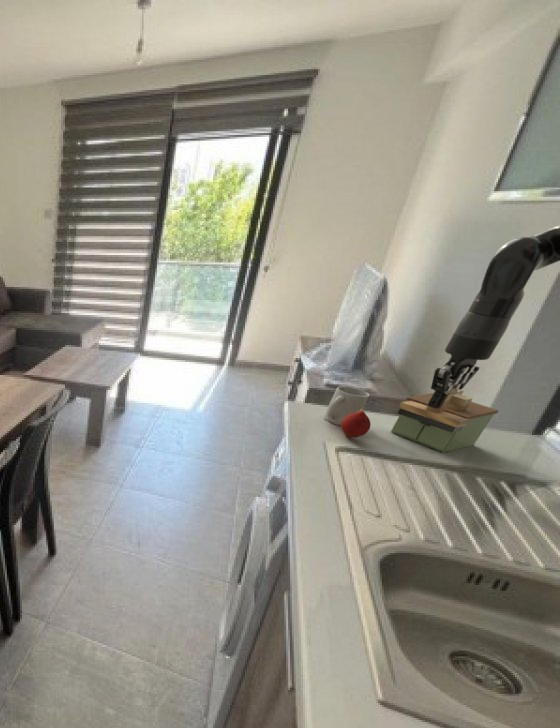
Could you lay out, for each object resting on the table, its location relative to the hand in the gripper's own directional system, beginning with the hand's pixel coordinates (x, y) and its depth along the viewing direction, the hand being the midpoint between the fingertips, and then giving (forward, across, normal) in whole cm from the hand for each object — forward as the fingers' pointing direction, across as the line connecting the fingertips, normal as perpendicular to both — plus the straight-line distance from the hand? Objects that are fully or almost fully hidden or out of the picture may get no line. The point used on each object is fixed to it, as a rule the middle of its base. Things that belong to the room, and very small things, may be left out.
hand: (436, 406), depth 114 cm
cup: (+12, -3, +17) cm, 21 cm away
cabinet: (+12, +13, +2) cm, 18 cm away
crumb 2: (+2, +10, 0) cm, 10 cm away
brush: (+4, 0, 0) cm, 4 cm away
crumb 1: (+2, +15, +4) cm, 16 cm away
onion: (+12, -10, +9) cm, 18 cm away
